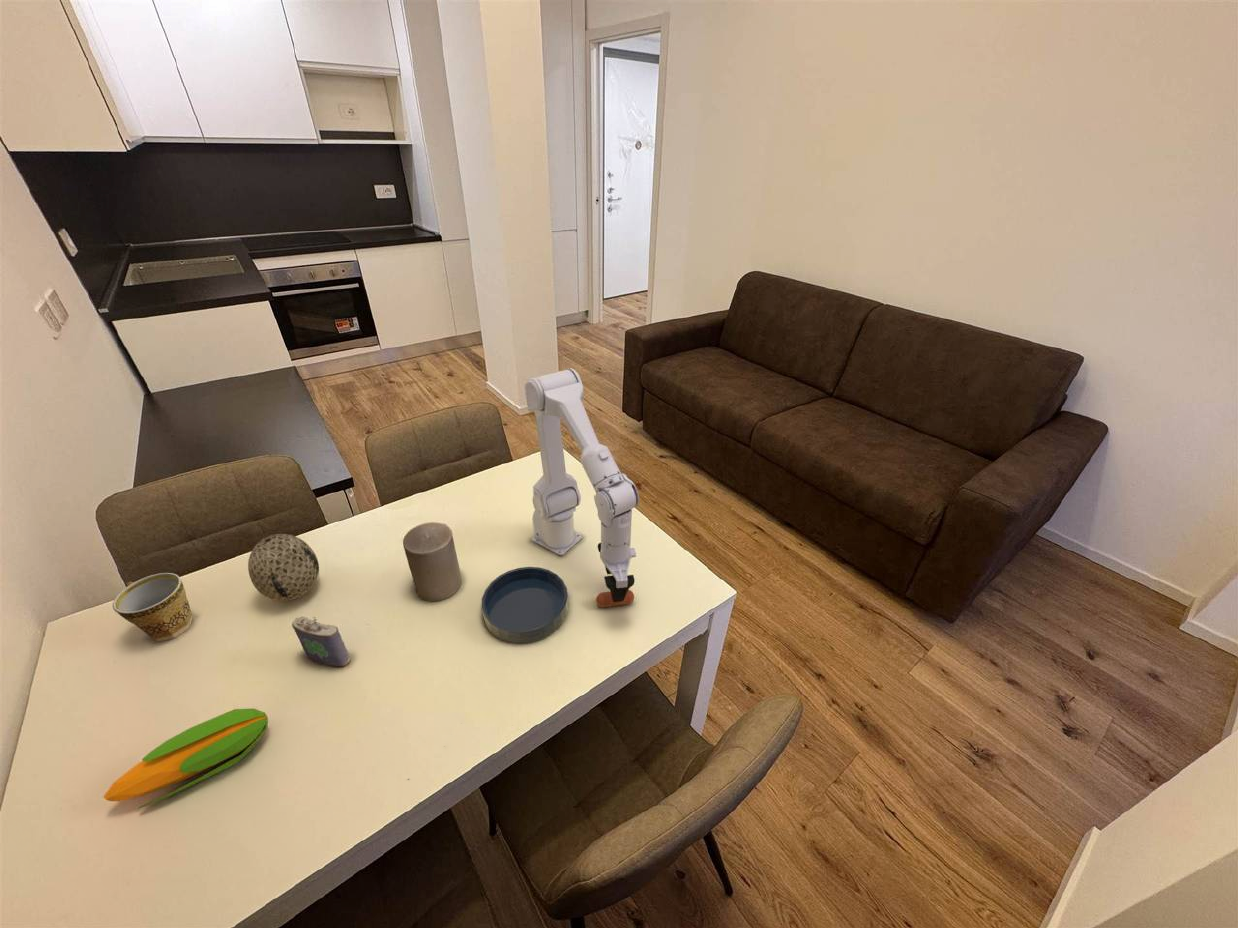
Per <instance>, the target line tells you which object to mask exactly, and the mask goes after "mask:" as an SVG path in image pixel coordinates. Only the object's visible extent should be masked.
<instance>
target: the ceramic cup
mask: <svg viewBox="0 0 1238 928" xmlns="http://www.w3.org/2000/svg"><path fill="white" fill-rule="evenodd" d="M124 585H125V588H123V590H121V591H120V592H119V593H118V594H117V595H116V596H115V598H114V599H113V602H112V609H113V611H114V612H115V613H116V614H118V615H119V616H121V618H123V619H124V620H126V621H128V622H129V623H131V624H133V625H134V626H135V627H137V628H138V629H139V630H141V632H143V633H145V634H146V635H147V636H149V638H151V639H153V640H155V641H157V642H163V641H167V640H172V639H176V638H177V637H179V636H180V635H181V634H183V633H184V632H186V631H187V630H189V629H190V627H191V624H192V623H193V620H194V619H193V618H194V616H193V612H192V610H191V607H190V604H189V600H188V597H187V592H186V589H185V586H184V583H183V581H182V578H181V577H180V576H179V575H178V574H176V573H171V572H160V573H156V574H152V575H148V576H146V577H142V578H140V579H138V580H136V581H134V582H133V581H127V582H126V583H125V584H124Z"/></svg>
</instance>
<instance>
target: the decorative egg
mask: <svg viewBox="0 0 1238 928" xmlns="http://www.w3.org/2000/svg"><path fill="white" fill-rule="evenodd" d="M319 563H320V562H319V560H318V557H317V554H316V553H315V551H314V550H313V548H312V547H310V545H309V544H308V543H307V542H305V541H304V540H303V539H301V538H300V537H298V536H296V535H292V534H289V533H288V534H287V533H275V534H270V535H268V536H265V537H263V538H261V540H259V541H258V542H257V543H256V544H255V546H253V548H252V550H251V552H250V554H249V556H248V561H247V569H248V570H247V571H248V575H249V580H251V583H252V585H253V586H254V589H256V591H258V593H259V594H261V595H262V596H264V597H265V598H267V599H270V600H273V601H279V602H287V601H291V600H296V599H298V598H300V597H303V596H304V595H306V594H307V593H308V592H309V591H310V590H311V589H312V588H313V587H314V586H315V584H316V582H317V580H318V578H319V574H320V564H319Z"/></svg>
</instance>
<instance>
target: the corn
mask: <svg viewBox="0 0 1238 928" xmlns="http://www.w3.org/2000/svg"><path fill="white" fill-rule="evenodd" d="M268 725H269V719H268V714H267V713H266V712H264V711H261V710H259V709H257V708H234V709H232V710H229V711H226V712H225V713H222V714H219V715H217V716H215V717H213V718H210V719H208V720H206V721H203V722H201V723H198V724H196V725H193V726H192V727H189V728H187V729H186V730H184V731H182V732H180V733H177V734H176V735H174V736H172V737H170V738H169V739H167V740H165V741H164V742H162V743H161V744H160V745H158V746H157V747H155V748H154V749H152V750H151V751H150V752H149V753H147V754H146V755H145V756H144V757H143V758H142V759H141V760H142V761H140V762H138V763H137V764H135V765H134V766H133V767H131V768H130V769H129V770H128V771H127V772H125V773H124V774H122V775H121V776H120V777H118V778H117V779H116V780H115V781H114V782H113V783H112V784H111V785H110V787H109V789H108V790H107V791H106V792H105V794H104V795H103V797H102V798H103V799H105V800H106V801H109V802H117V803H118V802H122V801H126V800H130V799H135V798H138V797H142V796H145V795H147V794H150V793H153V792H155V791H158V790H161V789H163V788H167V787H169V786H172V785H174V784H177V783H180V782H182V781H185V780H187V779H189V778H191V777H193V776H196V775H197V774H200V773H201V772H203V771H206V770H208V769H211V768H212V767H214V766H216V765H219V764H220V763H222V762H224V761H227V760H228V759H230V758H232V757H234V758H232V759H230V760H228V761H227V762H224V763H223V764H221V765H219V766H218V767H216V768H215V769H214V768H213V770H211V771H209V772H207V773H205V774H204V775H202V776H200V777H198V778H196V779H194V780H192V781H190V782H189V783H187V784H184V785H183V786H181V787H179V788H177V789H175V790H173V791H171V792H169V793H167V794H165V795H163V796H161V797H159V798H156V799H154V800H151V801H149V802H147V803H145V804H142V805H140V806H138V810H139V809H141V808H144V807H147V806H149V805H151V804H154V803H156V802H160V801H161V800H164V799H166V798H168V797H171V796H172V795H175V794H176V793H179V792H181V791H183V790H186V789H187V788H189V787H192V786H194V785H195V784H197V783H199V782H202V781H203V780H206V779H207V778H210V777H212V776H214V775H216V774H218V773H220V772H222V771H224V770H226V769H229V768H230V767H232V766H234V765H235V764H237V763H239V762H240V761H241V760H242V759H243V758H244V757H245V756H246V755H247V754H249V753H250V752H251V751H252V750H253V749H254V748H255V746H256V745H257V743H259V741H260V740H261V738H262V737H263V735H264V733H265V732H266V730H267V729H268ZM242 751H243V752H242ZM239 753H241V754H239ZM238 754H239V755H238ZM237 755H238V756H237ZM235 756H236V757H235Z"/></svg>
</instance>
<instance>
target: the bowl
mask: <svg viewBox="0 0 1238 928" xmlns="http://www.w3.org/2000/svg"><path fill="white" fill-rule="evenodd" d="M568 610H569V596H568V588H567V586H566V583H565V582H564V580H563V579H562V578H561V577H560V576H559V575H558V574H557V573H555V572H553V571H552V570H550V569H546V568H543V567H538V566H524V567H517V568H514V569H511V570H507V571H506V572H504V573H501V574H500V575H498V576H496V578H494V580H492V581H491V582H490V583H489V585H487V587H486V589H484V592H483V595H482V597H481V612H482V617H483V620H484V624H485V626H486V628H487V630H488V631H489V633H490V634H492V635H493V636H494V637H496V638H497V639H499V640H500V641H504V642H507V643H510V644H518V645H519V644H530V643H535V642H538V641H541V640H543V639H545V638H547V637H549V636H550V635H552V634H554V633H555V632H556V631H557V630H558V629H559V628H560V627H561V626H562V624H563V623H564V621H565V620H566V617H567V615H568Z"/></svg>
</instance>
